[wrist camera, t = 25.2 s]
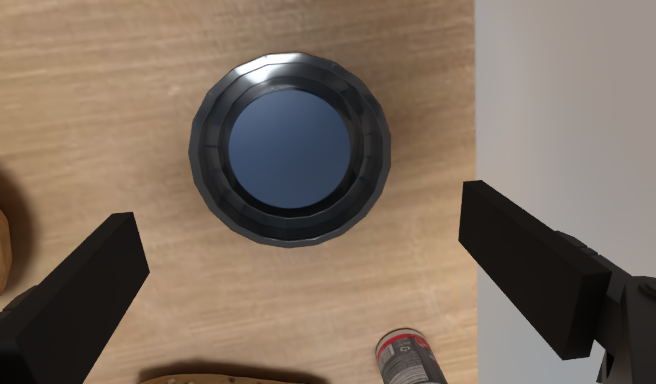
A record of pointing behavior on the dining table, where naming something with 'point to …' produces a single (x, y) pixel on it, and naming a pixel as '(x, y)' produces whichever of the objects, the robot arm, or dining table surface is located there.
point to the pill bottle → (407, 359)
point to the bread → (209, 380)
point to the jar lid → (289, 147)
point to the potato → (4, 251)
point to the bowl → (304, 222)
